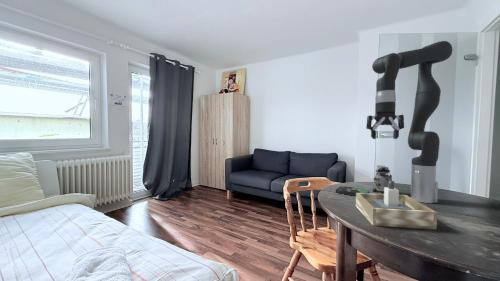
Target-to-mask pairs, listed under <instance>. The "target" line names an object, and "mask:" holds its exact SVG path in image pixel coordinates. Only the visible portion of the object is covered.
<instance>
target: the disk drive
mask: <svg viewBox="0 0 500 281" xmlns="http://www.w3.org/2000/svg"><path fill="white" fill-rule="evenodd" d="M336 193H339V194H338V195H342V194H344V195H343V196H348V195H349V196H350V197H354V196H355V198H356V193H368V194H370V189H365V188H359V187H351V186H347V185H346V186H344V185H340V186H339V187H337V188H336V189H335V194H336ZM349 196H348V197H349Z"/></svg>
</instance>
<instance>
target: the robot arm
mask: <svg viewBox="0 0 500 281" xmlns="http://www.w3.org/2000/svg"><path fill="white" fill-rule="evenodd" d="M452 54H453V46H452V44H451V43H450V41H448V40H447V41H446V40H441V41H437V42H434V43H431V44H428V45H426V46H423V47H422V48H416V49H411V50H407V51H401V52H398V53H395V52H391V53H389V54H386V55H384V56H380V57H378V58H376V59H375V60H374V61H373V62H372V64H371V65H372V66H371V68H372V70H373V71H374V73H375V74H377V75H378V74H380V75H382V74H383V75H382V76H381V77H380V78H378V79H377V80H376V83H375V84H376V85H375V86H376V88H375V89H376V90H375V92H376V93H375V104H374V106H375V107H374V109H375V110H374V114H375V115H371V114H370V115H367V116H366V129H367V130H370V138H371V139H372V140H376V138H377V130H376V129H378V127H379V126H390V127H391V128H392V129H393V130H392V131H393V133H392V139H393V140H398V138H399V137H400V136H399V135H400V132H399V131H400V130H401V129H402V130H403V129H405V115H404V114H398V115H397V114H396V106H397V105H396V104H397V102H396V101H397V98H396V97H397V95H396V80H397V77H398V74H399V71H400V70H402V69H407V68H411V67H414V66H418V70H417V71H418V72H417V75H418V77H417V85H416V93H415V97H414V107H413V115H412V119H411V123H410V129H409V133H408V136H407V137H408V138H407V145H408V147H409V148H410V149H411V150H414V151H421V152H420V155H418V156H415V157H413V158H412V159H411V171H410V172H411V173H410V198H412V199H414V200H416V201H418V202H419V203H425V204H434V203H438V197H439V196H438V192H439V191H438V190H439V183H438V181H437V180H436V179H437V177H436V176H437V162H438V159H439V152H440V137H439V134H438V133H436V132H435V131H431V130H430V131H429V130H428V131H425V129H426V124H427V122H428V120H429V119H430V118H431V116H432V115H433V113H435V111H436V110H437V108H438V107H439V105H440V102H441V88H440V85H439V84H438V82H437V81H436V80H435V78H434V77H433V73H432V69H433V68H432V67H433V65H434V64H437V63H441V62H444V61H447V60H449V59H450V57H451V56H452ZM374 120H375V122H374V123H373V121H374ZM395 120H396V121H397V123H396V121H395ZM372 124H373V125H372Z"/></svg>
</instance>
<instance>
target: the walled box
mask: <svg viewBox="0 0 500 281" xmlns="http://www.w3.org/2000/svg"><path fill="white" fill-rule="evenodd" d="M372 199H378V200H384V193H369V194H368V193H356V197H355V207H356V208H357V209H358V210H359V211H360V213H361V214H362V215H363V216H364V217H365V218H366V219H367V221H368V222H369V223H370V224H371V225H372V226H374V227H375V226H376V227H377V226H378V227H394V228H406V229H408V228H409V229H419V230H420V229H423V230H434V231H436V230H438V229H437V226H438V212H437V210H434V209H432V208H431V207H428V206H426V205H424V204H423V203H422V202H418V201H416V200H414V199H412V198H411V196H408V195H407V194H399V201H400V202H402V203H404V204H405V205H407V206H408V207H410V208H411V209H412V210H404V209H385V208H374V207H373V206H372Z"/></svg>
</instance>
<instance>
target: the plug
mask: <svg viewBox="0 0 500 281" xmlns="http://www.w3.org/2000/svg"><path fill="white" fill-rule="evenodd" d="M383 194H384V204H386V205H387V206H398V202H399V195H400V190H399V189H398V188H395V181H394V180H392V181H389V188H388V187H384V190H383Z"/></svg>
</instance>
